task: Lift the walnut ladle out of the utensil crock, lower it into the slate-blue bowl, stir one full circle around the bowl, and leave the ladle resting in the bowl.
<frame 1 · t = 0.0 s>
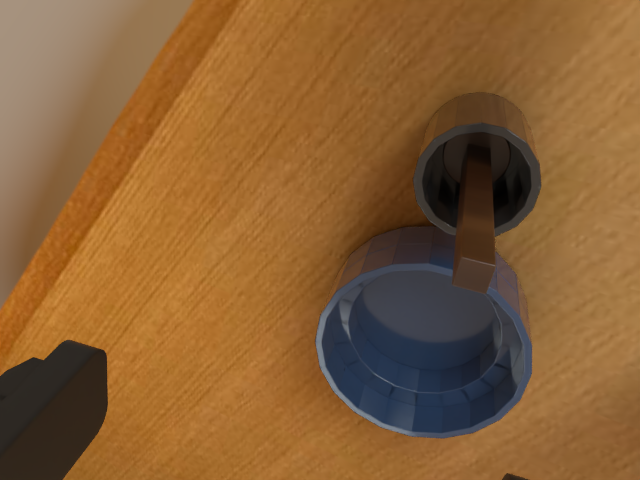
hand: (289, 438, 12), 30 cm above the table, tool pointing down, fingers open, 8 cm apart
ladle: (476, 146, 38), resting on crock
crock: (476, 144, 38), on the table
mixing bowl: (426, 307, 45), on the table
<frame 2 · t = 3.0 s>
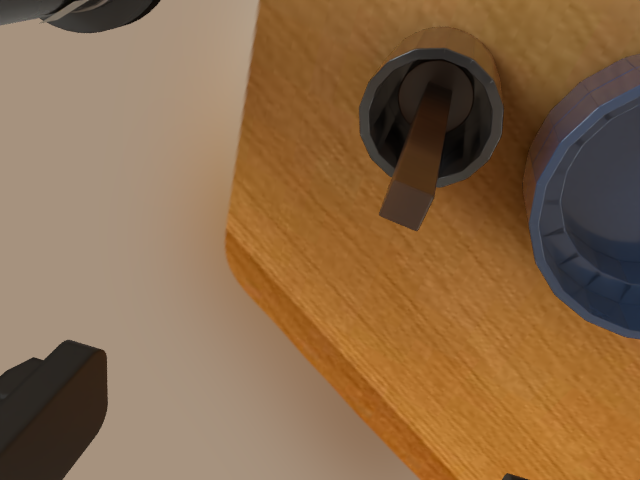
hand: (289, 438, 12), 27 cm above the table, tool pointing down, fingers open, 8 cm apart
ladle: (437, 89, 33), resting on crock
crock: (438, 87, 34), on the table
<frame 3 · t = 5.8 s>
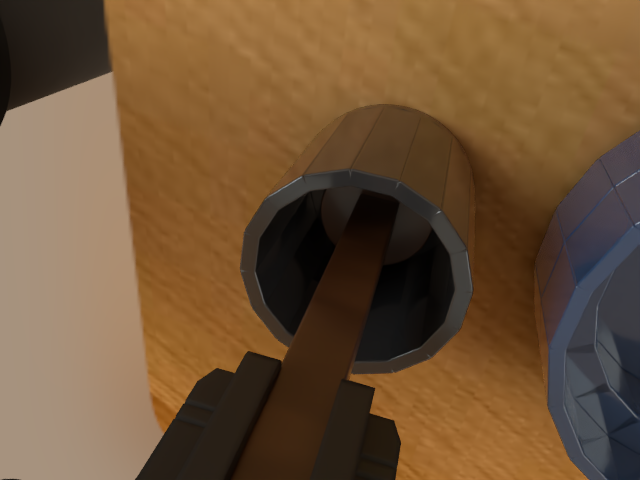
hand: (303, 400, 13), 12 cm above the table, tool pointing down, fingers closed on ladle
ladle: (383, 194, 23), point 1 cm above the table, touching gripper
crock: (385, 189, 23), on the table
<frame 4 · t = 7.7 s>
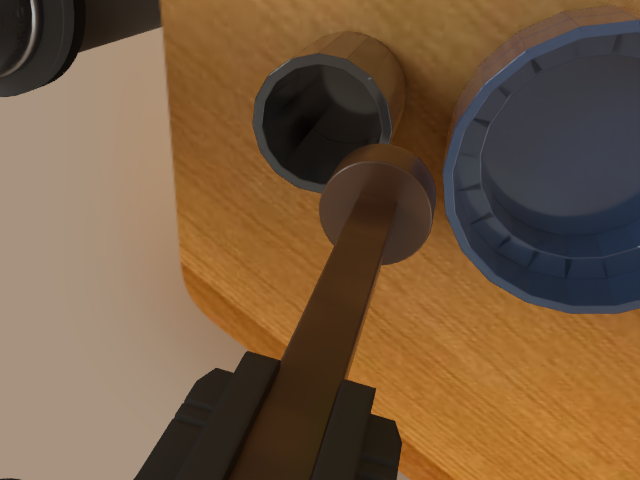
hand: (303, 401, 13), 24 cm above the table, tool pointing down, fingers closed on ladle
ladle: (382, 194, 23), point 13 cm above the table, touching gripper
crock: (348, 92, 34), on the table
mixing bowl: (580, 143, 32), on the table
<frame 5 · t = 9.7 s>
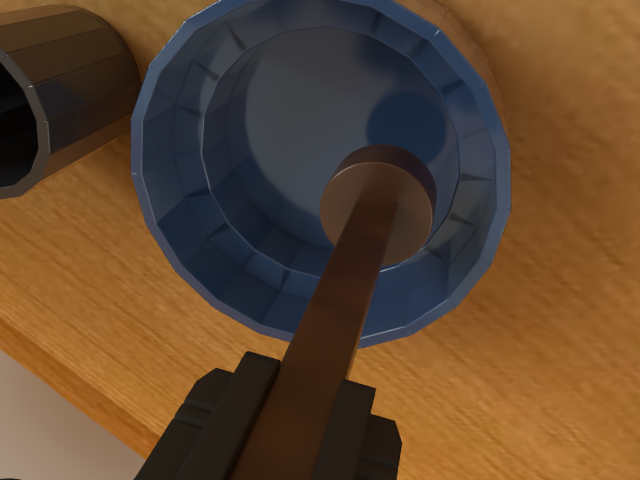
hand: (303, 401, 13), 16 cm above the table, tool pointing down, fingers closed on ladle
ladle: (383, 194, 23), point 5 cm above the table, touching gripper
crock: (77, 78, 28), on the table
mixing bowl: (341, 140, 27), on the table
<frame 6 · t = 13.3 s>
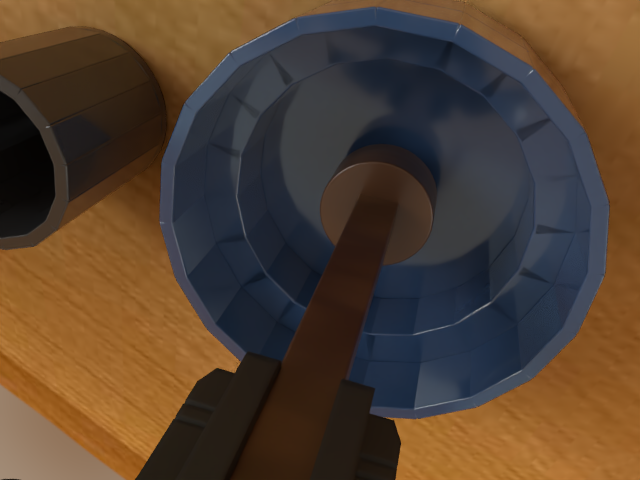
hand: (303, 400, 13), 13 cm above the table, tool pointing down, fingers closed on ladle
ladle: (383, 194, 23), point 2 cm above the table, touching gripper
crock: (96, 106, 26), on the table
mixing bowl: (390, 179, 24), on the table
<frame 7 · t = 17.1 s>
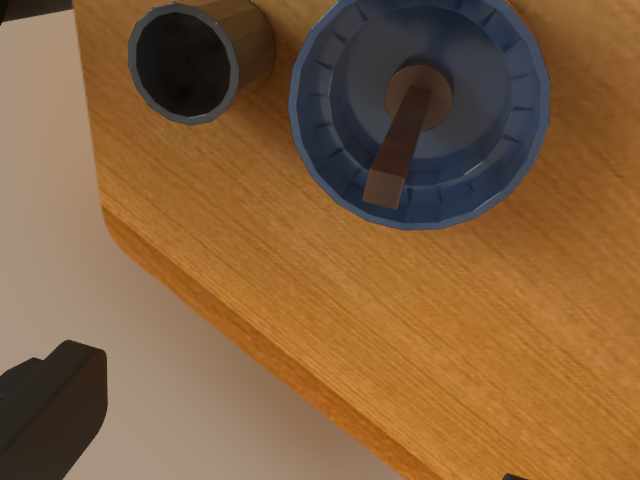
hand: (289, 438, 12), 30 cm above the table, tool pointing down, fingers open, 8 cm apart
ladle: (420, 91, 37), point 1 cm above the table, touching mixing bowl
crock: (228, 46, 39), on the table
mixing bowl: (422, 89, 38), on the table
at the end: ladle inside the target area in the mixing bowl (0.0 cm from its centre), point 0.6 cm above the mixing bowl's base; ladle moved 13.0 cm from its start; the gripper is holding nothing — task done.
